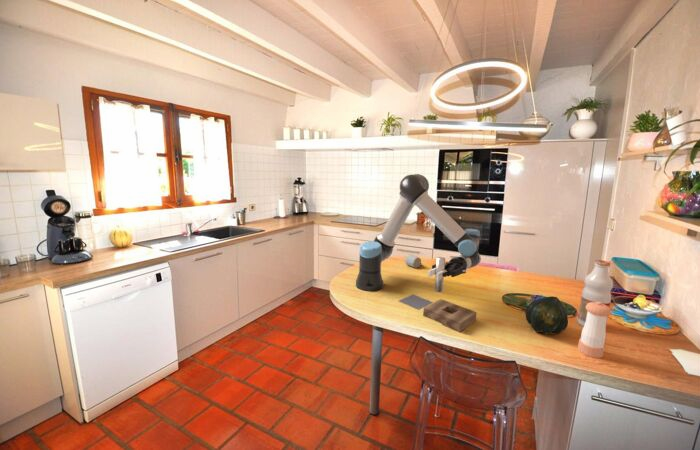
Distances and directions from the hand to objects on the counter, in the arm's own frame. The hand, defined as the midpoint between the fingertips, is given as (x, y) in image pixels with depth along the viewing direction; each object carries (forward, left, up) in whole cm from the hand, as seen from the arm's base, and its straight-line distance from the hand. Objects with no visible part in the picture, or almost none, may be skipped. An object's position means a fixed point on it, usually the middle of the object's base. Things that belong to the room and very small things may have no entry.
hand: (433, 275), depth 130 cm
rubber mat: (-12, +6, -19) cm, 23 cm away
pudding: (+29, +48, -19) cm, 59 cm away
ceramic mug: (-46, +51, -19) cm, 71 cm away
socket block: (+7, +4, -19) cm, 20 cm away
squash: (+37, +26, -19) cm, 49 cm away
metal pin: (0, +5, -9) cm, 10 cm away
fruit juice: (+49, +45, -19) cm, 69 cm away
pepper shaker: (+53, +21, -19) cm, 60 cm away
